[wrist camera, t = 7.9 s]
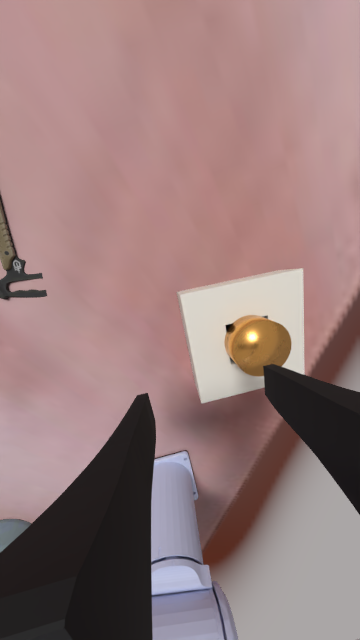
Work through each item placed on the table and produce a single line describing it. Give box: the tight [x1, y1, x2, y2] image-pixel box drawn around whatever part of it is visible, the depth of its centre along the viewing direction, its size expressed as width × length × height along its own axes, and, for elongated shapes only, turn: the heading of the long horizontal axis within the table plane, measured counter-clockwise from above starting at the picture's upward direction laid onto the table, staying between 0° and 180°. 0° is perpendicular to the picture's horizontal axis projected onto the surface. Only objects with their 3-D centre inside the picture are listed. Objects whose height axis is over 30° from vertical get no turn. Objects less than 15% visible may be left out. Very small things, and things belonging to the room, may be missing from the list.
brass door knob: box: [224, 315, 292, 377], centre depth 18 cm, size 5×5×6 cm
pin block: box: [176, 268, 304, 403], centre depth 19 cm, size 12×12×4 cm
